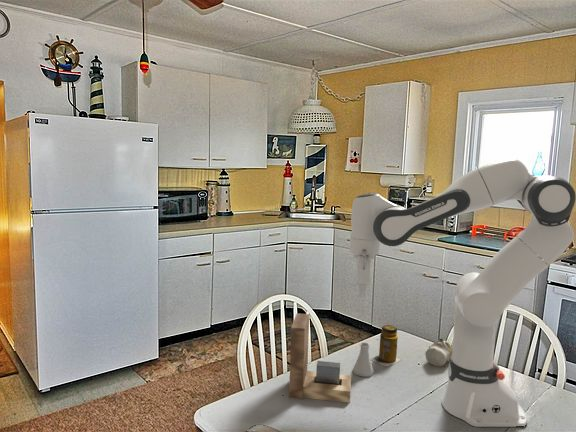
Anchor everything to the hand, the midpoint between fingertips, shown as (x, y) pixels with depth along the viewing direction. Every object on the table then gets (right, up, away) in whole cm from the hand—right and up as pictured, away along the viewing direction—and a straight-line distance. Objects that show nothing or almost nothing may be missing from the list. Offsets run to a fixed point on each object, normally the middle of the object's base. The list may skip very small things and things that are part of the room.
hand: (361, 291), depth 141 cm
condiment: (+12, -29, +24) cm, 39 cm away
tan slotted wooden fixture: (-12, -31, +1) cm, 33 cm away
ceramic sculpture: (+32, -29, +24) cm, 49 cm away
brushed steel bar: (-10, -31, +1) cm, 33 cm away
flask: (+3, -30, +14) cm, 33 cm away
